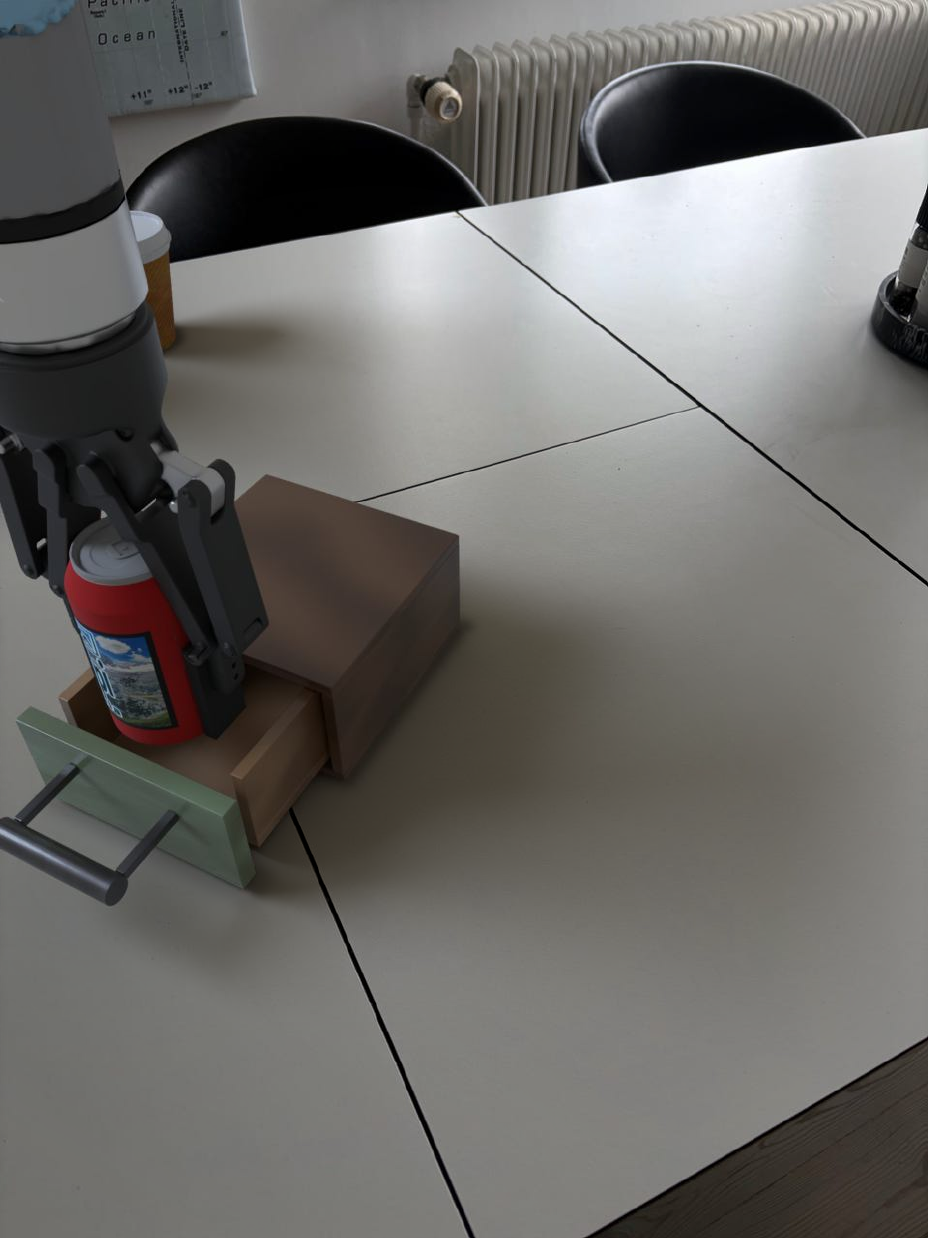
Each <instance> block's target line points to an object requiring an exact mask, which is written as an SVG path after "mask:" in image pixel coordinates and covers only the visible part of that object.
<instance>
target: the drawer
mask: <svg viewBox="0 0 928 1238" xmlns="http://www.w3.org/2000/svg"><path fill="white" fill-rule="evenodd" d="M243 663H244V662H243ZM243 665H244V667H245V672H246V673H245V676H244V678H243V680H242V681H241V686H242V690H243V695H244V699H245V703H246V708H245V709H244V710H243V711H242V712H241V713H240V714H239V716H238V717H237V718H236V719H235V720H234V721H233V722H232V723H231V724H230V726H229V727H228V728H227V729H226V730H225V731H224V732H223V733H222V734H221V736H220V737H219V738H218V739H217V740H215V739H212V738H210V737H208V736H205V733H203V734H201V735H200V736H198V737H195V738H193V739H190V740H188V741H185V742H181V743H177V744H170V745H150V744H144V743H140V742H137V741H135V740H133V739H131V738H129V737H127V736H126V735H124V734H123V733H122V732H121V731H120V730H119V729H118V727H117V726H116V724H115V722H114V720H113V718H112V715H111V713H110V710H109V707H108V705H107V702H106V700H105V697H104V695H103V692H102V690H99V688H98V685H97V682H96V679H95V677H94V674H93V671H92V669H91V666H89V667H88V668H87V670H85V671H84V672H83V673H82V674H81V675H79V676H78V678H76V679H75V680H74V681H73V682H72V683H71V684H70V685H69V686H67V688H65V689H64V690H63V691H62V692H61V693H60V694H59V695H58V696H57V700H58V701H59V704H60V707H61V709H62V711H63V714H64V717H65V718H66V721H64V720H63V719H61V718H57V717H56V716H53V715H51V714H49V713H46V712H44V711H42V710H41V709H38V708H36V707H33V706H31V705H30V706H29V707H28V708H26V709H25V710H24V711H23V712H22V713H21V714H19V716H18V717H16V718H15V720H14V721H15V723H16V725H17V727H18V729H19V732H20V733H21V736H22V738H23V740H24V742H25V744H26V746H27V749H28V751H29V753H30V755H31V757H32V760H33V761H34V764H35V766H36V768H37V770H38V773H39V775H40V776H41V779H42V781H43V783H44V785H45V786H44V787H43V788H41V790H40V791H39V792H38V793H37V794H35V796H34V797H33V798H32V799H31V800H30V801H29V802H28V803H27V804H26V805H25V806H24V807H23V808H22V809H20V810H19V812H18V813H17V814H16V815H14V817H10V816H3V817H0V850H1V851H3V852H4V853H7V854H9V855H11V856H12V857H15V859H18V860H20V861H22V862H24V863H26V864H27V865H30V866H31V867H33V868H35V869H37V870H39V871H41V872H43V873H45V874H46V875H48V876H50V877H52V878H54V879H56V880H58V881H60V882H62V883H63V884H65V885H68V886H69V887H71V888H73V889H74V890H77V891H78V892H81V893H82V894H85V895H86V896H88V897H90V898H91V899H94V900H96V901H98V902H100V903H101V904H103V905H105V906H107V907H113V906H116V905H117V904H118V903H119V902H121V901H122V899H123V898H124V896H125V895H126V893H127V890H128V887H129V878H130V877H131V876H132V875H133V873H134V872H135V871H136V870H137V869H138V867H139V866H140V865H141V864H142V863H143V862H144V861H145V859H147V857H148V856H149V855H150V854H151V853H152V851H153V850H154V849H155V848H159V849H160V850H162V851H164V852H167V853H169V854H171V855H173V856H174V857H177V858H178V859H180V860H182V861H185V862H186V863H189V864H191V865H193V866H195V867H197V868H199V869H201V870H203V871H205V872H207V873H209V874H212V875H213V876H215V877H218V878H219V879H221V880H223V881H226V882H228V883H229V884H231V885H234V886H236V887H237V888H240V889H241V890H244V889H245V888H246V887H247V886H248V885H249V883H250V882H251V881H252V879H253V878H254V877H255V875H256V874H257V872H256V868H255V863H254V860H253V857H252V852H251V849H250V845H253V846H255V847H257V848H260V847H261V846H262V844H263V843H264V842H265V841H266V839H267V838H268V837H269V836H270V834H271V833H272V832H273V830H275V828H276V826H278V824H279V823H280V821H281V820H282V819H283V818H284V816H285V815H286V814H287V813H288V811H289V810H290V809H291V808H292V806H293V805H294V803H296V801H297V800H298V799H299V798H300V796H301V795H302V793H303V792H304V791H305V789H306V788H307V787H308V785H310V784H311V782H312V781H313V779H314V778H315V777H316V776H317V774H318V773H319V771H321V770H320V769H321V768H322V766H323V765H324V764H325V763H326V761H327V760H328V759H329V757H330V756H331V755H330V748H329V741H328V735H327V728H326V721H325V715H324V708H323V701H322V695H321V694H322V693H320V692H317V691H315V690H312V689H310V688H307V687H305V686H302V685H300V684H297V683H295V682H292V681H290V680H287V679H285V678H282V677H280V676H277V675H275V674H272V673H269V672H267V671H264V670H262V669H259V668H257V667H254V666H252V665H249V664H247V663H244V664H243ZM55 798H57V799H59V800H61V801H63V802H65V803H67V804H68V805H71V806H73V807H75V808H77V809H79V810H81V811H83V812H85V813H87V814H89V815H91V816H93V817H95V818H97V819H99V820H102V821H103V822H105V823H108V824H110V825H112V826H114V827H115V828H118V829H119V830H122V831H124V832H126V833H127V834H130V835H132V836H134V837H135V838H138V839H140V841H139V842H137V844H136V845H135V846H134V848H133V849H132V850H131V851H129V853H128V854H127V855H126V856H125V858H124V859H123V860H121V862H120V863H119V864H118V866H116V868H115V870H114V869H112V868H110V867H108V866H106V865H104V864H102V863H100V862H99V861H96V860H95V859H92V858H90V857H89V856H86V855H85V854H82V853H80V852H78V851H77V850H75V849H73V848H71V847H68V846H67V845H65V844H63V843H61V842H59V841H58V840H55V839H53V838H51V837H49V836H47V835H45V834H43V833H42V832H39V831H38V830H36V829H34V828H32V827H29V826H28V825H29V824H30V823H31V822H33V820H34V819H35V818H36V817H37V816H38V815H39V814H40V813H41V812H42V811H43V810H44V809H45V808H46V807H47V806H48V805H49V804H50V803H51V802H52V801H53V800H54V799H55ZM249 844H250V845H249Z"/></svg>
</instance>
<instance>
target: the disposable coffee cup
mask: <svg viewBox="0 0 928 1238" xmlns="http://www.w3.org/2000/svg"><path fill="white" fill-rule="evenodd" d="M129 211H130V215H131V219H132V223H133V227H134V231H135V235H136V239H137V243H138V247H139V251H140V255H141V259H142V263H143V267H144V271H145V275H146V279H147V285H148V292H147V295H146V298H145V301H147V302H148V304H149V305H150V306H151V308H152V310H153V313H154V317H155V322H156V326H157V330H158V334H159V339H160V343H161V347H162V352H163V351H164V350H167V349H168V348H170V347H171V346H172V345H173V344H174V343H175V341H176V339H177V336H176V325H175V323H176V322H175V314H174V301H173V300H174V298H173V289H172V276H171V264H170V252H169V251H170V246H171V241H172V234H171V232H170V231H169V229H167V228H166V226H165V223H164V221H163V220H162V218H161V217H160V216H159V215H156V214H154V213H151V212H147V211H142V210H129Z"/></svg>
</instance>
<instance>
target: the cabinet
mask: <svg viewBox="0 0 928 1238" xmlns="http://www.w3.org/2000/svg"><path fill="white" fill-rule="evenodd" d="M234 506H235V509H236V512H237V516H238V519H239V522H240V526H241V529H242V533H243V536H244V539H245V543H246V546H247V549H248V553H249V556H250V559H251V563H252V566H253V570H254V573H255V576H256V580H257V583H258V586H259V590H260V593H261V596H262V600H263V603H264V607H265V610H266V613H267V617H268V620H269V625H268V627H267V628H266V629H265V630H264V631H263V632H262V633H261V634H260V635H259V636H258V637H257V639H256V640H255V641H254V642H253V643H252V644H251V645H250V646H249V647H248V648H247V649H246V650H245V651H244V652H243V653H242V658H243V659H242V660H243V662H244V663H247V664H249V665H252V666H254V667H257V668H259V669H262V670H264V671H267V672H269V673H272V674H275V675H277V676H280V677H282V678H285V679H287V680H290V681H292V682H295V683H297V684H300V685H302V686H305V687H307V688H310V689H312V690H315V691H317V692H320V693H322V694H321V695H322V701H323V708H324V715H325V721H326V728H327V735H328V741H329V748H330V755H331V756H330V757H329V759H328V760H327V761H326V763H325V764H324V765H323V766H322V768H321V769H320V770H319V771H321V772H323V773H326V774H328V775H330V776H333V777H335V778H338V779H339V780H342V781H345V780H346V779H347V777H348V776H349V775H350V774H351V772H352V771H353V770H354V768H355V766H356V765H358V763H359V761H360V760H361V759H362V758H363V756H364V755H365V754H366V752H367V751H368V750H369V748H370V747H371V746H372V744H373V743H374V741H376V739H377V738H378V736H379V735H380V733H381V732H382V731H383V730H384V728H385V727H386V726H387V724H388V723H389V722H390V720H391V719H392V718H393V717H394V715H395V714H396V712H397V711H398V710H399V708H400V707H401V706H402V704H403V703H405V701H406V699H407V698H408V696H410V695H411V693H412V691H413V690H414V688H415V687H416V686H417V684H418V683H419V681H420V680H421V679H422V678H423V677H424V675H425V674H426V673H427V671H428V670H429V669H430V668H431V666H432V665H433V663H434V662H435V661H436V659H437V658H438V656H439V655H440V654H441V653H442V651H443V650H444V649H445V648H446V646H447V644H448V643H449V642H450V641H451V639H452V638H453V637H454V635H455V634H456V633H457V632H458V630H459V629H460V627H461V567H460V565H461V564H460V562H461V560H460V558H461V556H460V535H459V534H457V533H454V532H452V531H447V530H445V529H441V528H438V527H435V526H431V525H430V524H425V523H422V522H420V521H417V520H413V519H410V518H407V517H404V516H400V515H397V514H394V513H392V512H387V511H385V510H381V509H378V508H375V507H371V506H369V505H365V504H363V503H360V502H356V501H353V500H351V499H350V500H349V499H347V498H343V497H340V496H337V495H334V494H331V493H327V492H324V491H321V490H318V489H315V488H312V487H309V486H306V485H302V484H300V483H296V482H292V481H289V480H287V479H283V478H280V477H277V476H274V475H272V474H271V475H270V474H267V473H265V474H264V475H263V476H262V477H260V478H259V480H257V481H256V482H255V483H254V484H253V485H252V486H251V487H250V488H248V489H247V490H246V491H244V492H243V493H242V494H241V495H240V496H239V497H238V498H237V499H236V500H234Z"/></svg>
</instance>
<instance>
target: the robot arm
mask: <svg viewBox="0 0 928 1238" xmlns="http://www.w3.org/2000/svg"><path fill="white" fill-rule="evenodd" d="M84 6H85V5H84V1H83V0H0V508H1V510H2V514H3V517H4V520H5V523H6V526H7V530H8V533H9V537H10V540H11V542H12V546H13V548H14V553H15V555H16V559H17V562H18V565H19V568H20V570H21V571H22V573H23V574H24V575H25V576H26V577H28V578H29V579H31V580H37V579H38V578H39V579H40V577H43V578H44V579H45V580H47V581H48V586H49V589H50V591H51V592H52V593H53V594H54V595H55V596H56V597H58V598H60V599H62V600H63V604H64V606H65V609H66V611H67V613H68V617H69V619H70V622H71V626H72V627H73V629H74V631H75V632H76V633H77V634H78V636H79V639H80V642H81V644H82V646H83V649H84V652H85V655H86V658H87V660H88V663H89V667H91V669H92V671H93V674H94V677H95V679H96V682H97V685H98V688H99V690H101V687H100V684H99V682H98V679H97V676H96V674H95V671H94V668H93V666H92V663H91V660H90V658H89V655H88V652H87V649H86V647H85V644H84V641H83V639H82V636H81V633H80V630H79V628H78V625H77V622H76V619H75V616H74V613H73V611H72V608H71V605H70V602H69V599H68V596H67V594H66V591H65V587H64V579H65V573H66V570H67V566H68V563H69V560H70V554H69V553H70V548H71V545H72V543H73V541H74V539H75V538H76V536H77V535H78V534H79V533H80V532H81V531H82V530H84V529H85V528H86V527H87V526H89V525H90V524H92V523H94V522H96V521H98V520H100V519H102V512H104V513H105V515H106V517H108V518H109V520H110V522H111V523H112V525H113V527H114V529H115V530H116V532H117V534H118V535H119V537H120V538H121V539H122V540H123V541H125V542H132V543H134V544H135V546H136V548H137V549H138V551H139V553H140V555H141V556H142V558H143V560H144V561H145V563H146V565H147V567H148V568H149V570H150V572H151V574H152V575H153V577H154V579H155V581H156V582H157V584H158V586H159V587H160V589H161V591H162V593H163V594H164V596H165V598H166V600H167V601H168V603H169V605H170V607H171V608H172V610H173V612H174V613H175V615H176V617H177V619H178V620H179V622H180V624H181V626H182V627H183V629H184V631H185V633H186V634H187V636H188V638H189V639H190V642H189V643H188V644H187V645H186V646H185V647H184V648H183V649H182V650H181V651H182V654H183V658H184V662H185V665H186V669H187V672H188V676H189V679H190V683H191V687H192V690H193V694H194V697H195V701H196V705H197V708H198V712H199V715H200V719H201V722H202V726H203V730H204V733H205V736H208V737H210V738H212V739H215V740H217V739H218V738H219V737H220V736H221V734H222V733H223V732H224V731H225V730H226V729H227V728H228V727H229V726H230V724H231V723H232V722H233V721H234V720H235V719H236V718H237V717H238V716H239V714H240V713H241V712H242V711H243V710H244V709H245V708H246V703H245V699H244V695H243V690H242V686H241V681H242V680H243V678H244V676H245V673H246V672H245V667H244V665H243V664H244V663H243V660H242V659H243V658H242V653H243V652H244V651H245V650H246V649H247V648H248V647H249V646H250V645H251V644H252V643H253V642H254V641H255V640H256V639H257V637H258V636H259V635H260V634H261V633H262V632H263V631H264V630H265V629H266V628H267V627H268V625H269V620H268V617H267V613H266V610H265V607H264V603H263V600H262V596H261V593H260V590H259V586H258V583H257V580H256V576H255V573H254V570H253V566H252V563H251V559H250V556H249V553H248V549H247V546H246V543H245V539H244V536H243V533H242V529H241V526H240V522H239V519H238V516H237V512H236V509H235V506H234V502H235V498H236V497H235V495H236V478H237V476H236V471H235V470H234V468H233V466H232V465H231V464H230V463H229V462H228V461H226V460H225V459H222V458H216V459H215V460H213V461H212V462H211V463H210V464H208V465H206V466H204V465H202V464H200V463H199V462H197V461H195V460H193V459H191V458H189V457H187V456H186V455H184V454H182V453H180V449H179V445H178V442H177V440H176V438H175V437H174V435H173V433H172V432H171V431H170V429H169V427H168V425H167V424H166V421H165V420H164V417H163V405H164V401H165V400H164V399H165V395H166V391H167V387H168V379H169V378H168V370H167V369H168V368H167V365H166V361H165V357H164V352H163V351H162V347H161V343H160V339H159V334H158V330H157V326H156V322H155V317H154V313H153V310H152V308H151V306H150V305H149V304H148V302H147V301H145V298H146V295H147V292H148V285H147V279H146V275H145V271H144V267H143V263H142V259H141V255H140V251H139V247H138V243H137V239H136V235H135V231H134V227H133V223H132V219H131V215H130V211H131V210H130V207H129V204H128V203H129V202H128V199H127V196H126V195H127V194H126V190H125V186H124V182H123V179H122V175H121V169H120V165H119V160H118V155H117V151H116V146H115V143H114V138H113V133H112V129H111V125H110V120H109V115H108V110H107V105H106V101H105V97H104V92H103V88H102V84H101V79H100V76H99V70H98V65H97V61H96V57H95V56H96V55H95V52H94V48H93V43H92V38H91V34H90V29H89V25H88V21H87V20H88V19H87V16H86V12H85V7H84ZM140 511H142V512H141V513H140V514H139V515H137V516H135V514H136V513H138V512H140ZM42 540H45V542H43V543H42V544H41V545H39V546H38V543H39V542H40V541H42Z"/></svg>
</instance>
